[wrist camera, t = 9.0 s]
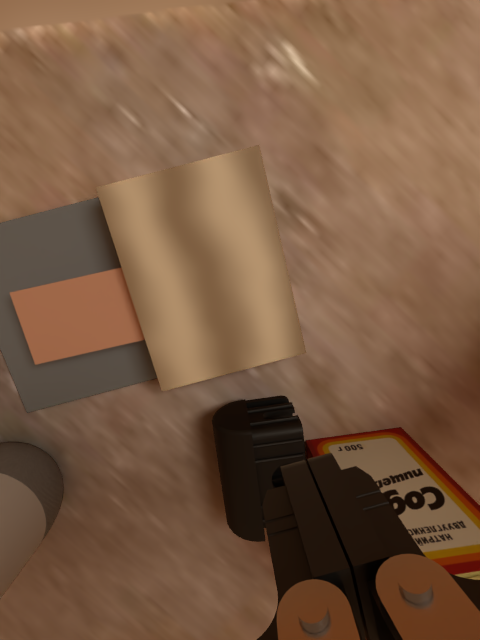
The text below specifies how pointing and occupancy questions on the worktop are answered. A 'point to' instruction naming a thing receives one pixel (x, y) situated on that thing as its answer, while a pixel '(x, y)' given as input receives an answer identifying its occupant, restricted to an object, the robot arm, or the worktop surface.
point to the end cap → (254, 457)
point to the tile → (77, 315)
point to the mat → (52, 266)
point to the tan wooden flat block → (205, 267)
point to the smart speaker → (25, 505)
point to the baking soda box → (415, 494)
